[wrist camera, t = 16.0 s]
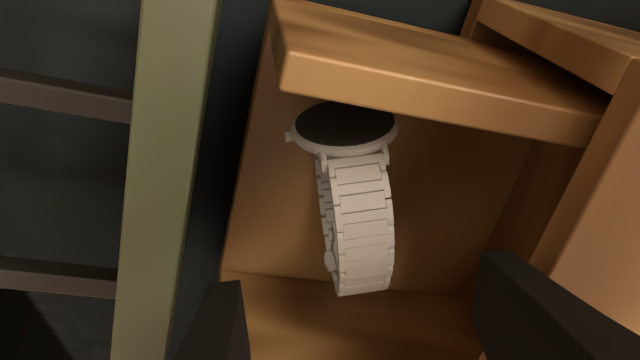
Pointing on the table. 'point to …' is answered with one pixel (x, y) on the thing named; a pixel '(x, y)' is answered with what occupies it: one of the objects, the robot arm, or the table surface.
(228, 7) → the table surface
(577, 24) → the cabinet
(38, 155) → the table surface
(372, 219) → the wristwatch
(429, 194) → the drawer
